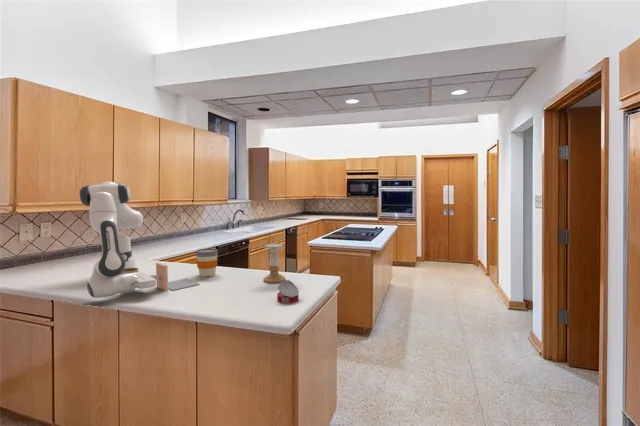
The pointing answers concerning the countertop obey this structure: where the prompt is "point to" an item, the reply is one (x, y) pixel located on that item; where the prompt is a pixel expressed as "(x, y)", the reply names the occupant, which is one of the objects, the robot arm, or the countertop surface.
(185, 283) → the mat
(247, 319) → the countertop surface
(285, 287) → the canned food
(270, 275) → the candle holder
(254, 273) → the countertop surface
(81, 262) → the countertop surface
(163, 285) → the tile
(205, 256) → the reusable coffee cup
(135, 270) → the flower pot
